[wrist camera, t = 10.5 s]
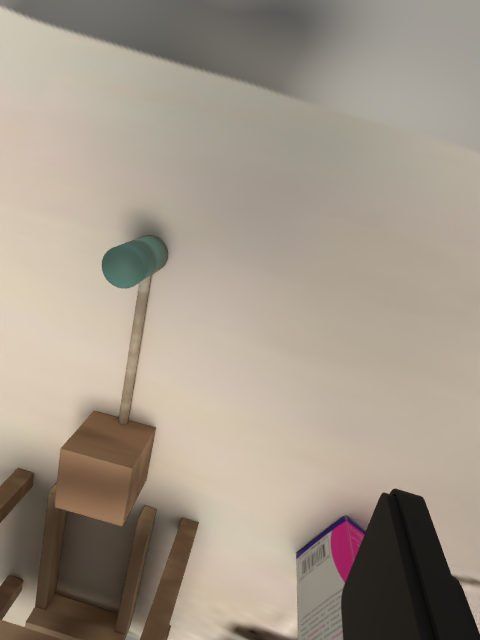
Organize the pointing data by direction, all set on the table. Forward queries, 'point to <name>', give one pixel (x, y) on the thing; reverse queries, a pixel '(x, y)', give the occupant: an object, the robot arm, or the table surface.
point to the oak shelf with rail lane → (76, 617)
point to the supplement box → (325, 580)
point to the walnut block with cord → (108, 431)
